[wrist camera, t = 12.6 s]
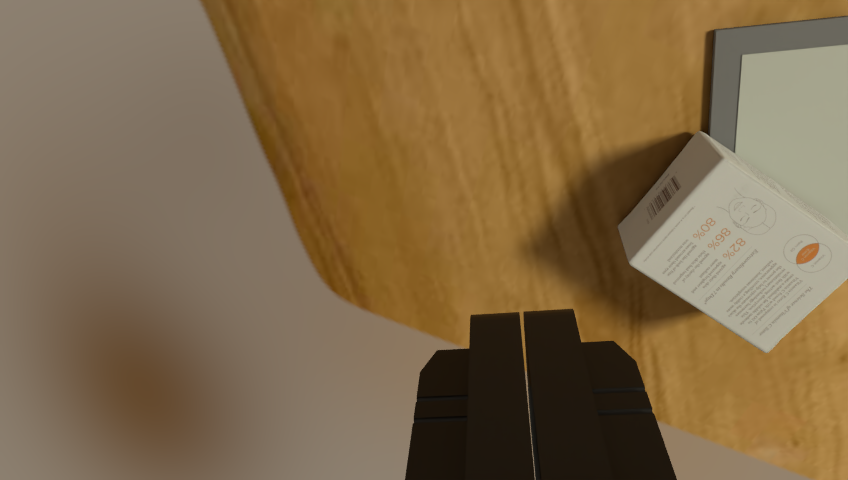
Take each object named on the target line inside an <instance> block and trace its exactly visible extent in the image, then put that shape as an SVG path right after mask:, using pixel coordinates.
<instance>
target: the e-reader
mask: <svg viewBox="0 0 848 480" xmlns="http://www.w3.org/2000/svg"><path fill="white" fill-rule="evenodd" d="M708 135H709V136H710V137H711V138H713V139H714V140H716V141H717V142H719V143H720V144H722V145H723V146H725V147H726V148H727V149H729V150H730V151H732V152H733V153H735V154H736V155H738V156H739V157H740V158H742V159H743V160H745V161H746V162H747V163H749V164H750V165H752V166H753V167H755V168H756V169H758V170H759V171H760V172H762V173H763V174H765V175H766V176H768V177H769V178H771V179H772V180H774V181H776V182H777V183H778V184H779V185H781V186H782V187H783V188H785V189H786V190H788V191H789V192H790V193H792V194H793V195H795V196H796V197H798V198H799V199H800V200H802V201H803V202H805V203H806V204H808V205H809V206H811V207H812V208H813V209H815V210H816V211H818V212H819V213H821V214H822V215H823V216H825V217H826V218H828V219H829V220H830V221H831V222H832V223H833V224H835V225H836V226H837V227H838V228H839V229H840V230H841V231H842V232H843V233H844V234H846V235H847V236H848V16H840V17H831V18H821V19H811V20H802V21H792V22H783V23H773V24H763V25H754V26H744V27H734V28H725V29H715V30H714V40H713V58H712V75H711V92H710V110H709V127H708Z"/></svg>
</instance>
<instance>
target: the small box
mask: <svg viewBox="0 0 848 480" xmlns="http://www.w3.org/2000/svg"><path fill="white" fill-rule="evenodd" d="M618 230H619V233H620V237H621V240H622V243H623V246H624V250H625V253H626V256H627V259H628V262H629V264H630V265H631V266H632V267H634V268H635V269H637V270H638V271H640V272H641V273H643V274H644V275H646V276H648V277H649V278H651V279H652V280H654V281H655V282H657V283H659V284H660V285H662V286H663V287H665V288H666V289H668V290H669V291H671V292H672V293H674V294H675V295H677V296H679V297H680V298H682V299H683V300H685V301H686V302H688V303H690V304H691V305H693V306H694V307H696V308H697V309H699V310H700V311H702V312H703V313H705V314H706V315H708V316H709V317H711V318H712V319H714V320H716V321H717V322H718V323H720V324H722V325H723V326H725V327H726V328H728V329H729V330H730V331H732V332H734V333H735V334H737V335H738V336H740V337H741V338H743V339H744V340H746V341H747V342H749V343H751V344H752V345H754V346H755V347H757V348H758V349H760V350H761V351H763V352H765V353H768V352H769V351H770V350H771V349H772V348H773V347H774V346H775V345H776V344H777V343H778V342H779V341H780V340H781V339H782V338H783V337H784V336H785V335H786V334H787V333H788V332H789V331H790V330H791V329H793V328H794V327H795V326H796V325H797V324H798V323H799V322H800V321H801V320H802V319H803V318H805V317H806V316H807V315H808V314H809V313H810V312H811V311H812V310H813V309H814V308H816V307H817V306H818V305H819V304H820V303H821V302H822V301H823V300H824V299H825V298H827V297H828V296H829V295H830V294H831V293H832V292H833V291H834V290H835V289H837V288H838V287H839V286H840V285H841V284H842V283H843V282H844V281H845V280H847V279H848V236H847V235H846V234H844V233H843V232H842V231H841V230H840V229H839V228H838V227H837V226H836V225H835V224H833V223H832V222H831V221H830V220H829V219H828V218H826V217H825V216H823V215H822V214H821V213H819V212H818V211H816V210H815V209H813V208H812V207H811V206H809V205H808V204H806V203H805V202H803V201H802V200H800V199H799V198H798V197H796V196H795V195H793V194H792V193H790V192H789V191H788V190H786V189H785V188H783V187H782V186H781V185H779V184H778V183H777V182H776V181H774V180H772V179H771V178H769V177H768V176H766V175H765V174H763V173H762V172H760V171H759V170H758V169H756V168H755V167H753V166H752V165H750V164H749V163H747V162H746V161H745V160H743V159H742V158H740V157H739V156H738V155H736V154H735V153H733V152H732V151H730V150H729V149H727V148H726V147H725V146H723V145H722V144H720V143H719V142H717V141H716V140H714V139H713V138H711V137H710V136H709V135H707V134H706V133H704V132H702V131H698V132H697V133H696V134H695V135H694V136H693V137H692V138H691V140H690V141H689V142H688V143H687V145H686V146H685V147H684V149H683V150H682V151H681V152H680V154H679V155H678V156H677V157H676V159H675V160H674V161H673V162H672V163H671V165H670V166H669V167H668V168H667V170H666V171H665V172H664V173H663V175H662V176H661V177H660V178H659V180H658V181H657V182H656V183H655V184H654V186H653V187H652V188H651V189H650V190H649V191H648V193H647V194H646V195H645V196H644V197H643V198H642V200H641V201H640V202H639V203H638V204H637V206H636V207H635V208H634V209H633V210H632V211H631V212H630V214H629V215H628V216H627V217H626V218H625V219H624V220H623V221H622V222H621V223H620V224H619V225H618Z"/></svg>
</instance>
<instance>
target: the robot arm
mask: <svg viewBox="0 0 848 480" xmlns="http://www.w3.org/2000/svg"><path fill="white" fill-rule="evenodd" d="M524 331H525V347H526V363H527V378H528V394H529V408H530V422H531V433H532V445H533V455H534V466H535V477H536V480H677V479H676V476H675V473H674V470H673V467H672V464H671V461H670V459H669V455H668V453H667V450H666V447H665V444H664V441H663V438H662V435H661V432H660V430H659V427H658V424H657V421H656V418H655V415H654V413H652V407H651V404H650V401H649V398H648V395H647V392H645V386H644V383H643V381H642V378H641V375H640V372H639V369H638V366H637V363H636V361H635V360H634V359H633V358H632V357H630V356H629V355H628V354H627V353H626V352H625V351H624V350H623V349H622V348H621V347H620V346H618V345H617V344H616V343H615V342H614V341H601V342H582V343H581V339H580V335H579V331H578V327H577V322H576V318H575V314H574V310H573V309H562V310H545V311H528V312H524ZM405 480H535V478H534V467H533V457H532V446H531V435H530V424H529V413H528V403H527V391H526V380H525V369H524V359H523V348H522V337H521V326H520V315H519V312H514V313H497V314H480V315H471V317H470V346H469V349H453V350H438V351H436V353H435V354H434V355H433V356H432V358H431V359H430V360H429V362H428V363H427V364H426V365H425V367H424V368H423V369H422V370H421V372H420V377H419V385H418V391H417V402H416V406H415V413H414V423H413V427H412V434H411V441H410V449H409V456H408V463H407V470H406V478H405Z"/></svg>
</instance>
